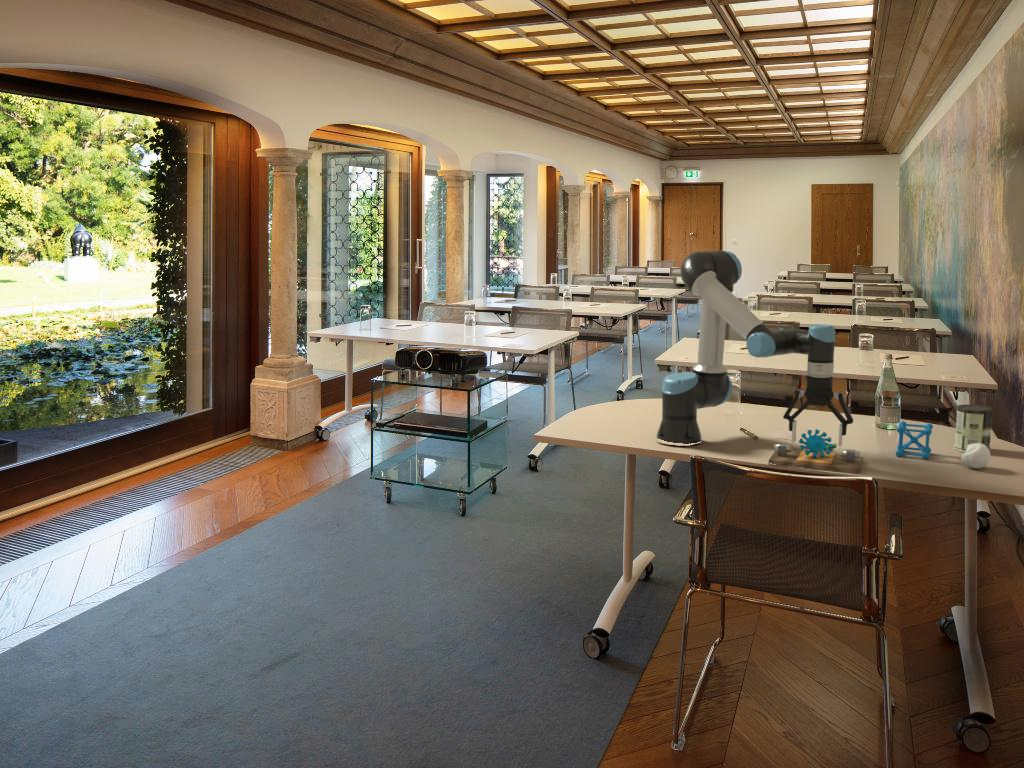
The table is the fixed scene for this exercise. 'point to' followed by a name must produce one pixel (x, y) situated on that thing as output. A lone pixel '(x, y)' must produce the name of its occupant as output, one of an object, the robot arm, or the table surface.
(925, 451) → the molecular structure
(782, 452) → the shaft pair
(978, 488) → the table surface
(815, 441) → the virus model
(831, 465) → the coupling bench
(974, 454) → the crumpled paper ball
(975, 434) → the coffee can
